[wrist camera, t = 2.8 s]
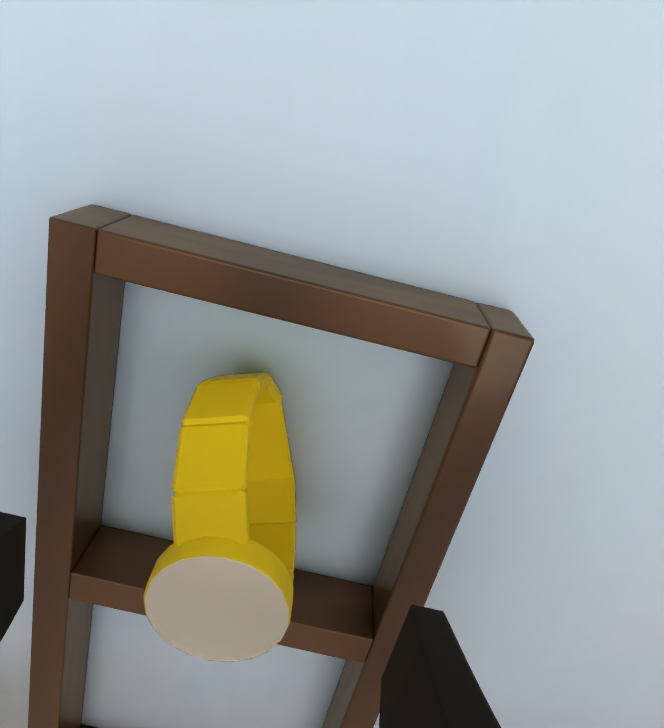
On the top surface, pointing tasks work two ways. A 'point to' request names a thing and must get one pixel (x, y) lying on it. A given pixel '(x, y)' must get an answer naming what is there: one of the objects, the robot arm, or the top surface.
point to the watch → (228, 525)
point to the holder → (140, 553)
